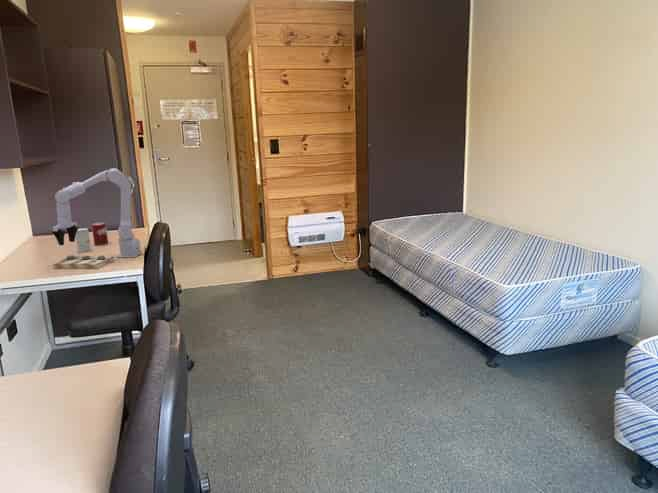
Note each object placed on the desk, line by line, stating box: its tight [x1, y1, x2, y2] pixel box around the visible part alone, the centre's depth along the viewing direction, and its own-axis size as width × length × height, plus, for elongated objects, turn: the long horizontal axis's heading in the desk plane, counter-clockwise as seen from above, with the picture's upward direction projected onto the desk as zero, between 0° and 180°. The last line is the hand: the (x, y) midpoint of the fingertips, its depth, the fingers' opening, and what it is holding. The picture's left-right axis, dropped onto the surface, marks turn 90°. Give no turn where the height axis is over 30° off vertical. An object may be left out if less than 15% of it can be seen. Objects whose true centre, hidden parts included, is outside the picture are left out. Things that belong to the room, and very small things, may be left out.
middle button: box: [82, 255, 90, 260], centre depth 233 cm, size 3×3×2 cm
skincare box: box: [75, 227, 92, 254], centre depth 257 cm, size 6×4×12 cm
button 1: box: [66, 255, 75, 260], centre depth 234 cm, size 3×3×2 cm
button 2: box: [97, 255, 106, 260], centre depth 232 cm, size 3×3×2 cm
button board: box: [52, 255, 115, 270], centre depth 231 cm, size 23×13×3 cm, turn 81°
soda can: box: [91, 222, 109, 247], centre depth 271 cm, size 7×7×12 cm
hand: (66, 243), depth 233 cm, fingers open, 7 cm apart
